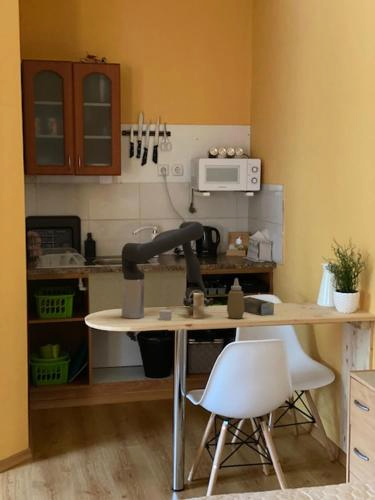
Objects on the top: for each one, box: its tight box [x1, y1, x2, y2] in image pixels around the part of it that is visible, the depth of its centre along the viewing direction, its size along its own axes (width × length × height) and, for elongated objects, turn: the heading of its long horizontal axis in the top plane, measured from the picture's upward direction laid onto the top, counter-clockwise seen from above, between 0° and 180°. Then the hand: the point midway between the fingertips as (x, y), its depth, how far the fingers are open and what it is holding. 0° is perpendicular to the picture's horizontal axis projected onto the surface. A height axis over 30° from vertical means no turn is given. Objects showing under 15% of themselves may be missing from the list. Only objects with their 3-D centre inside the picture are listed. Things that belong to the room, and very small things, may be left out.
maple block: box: [192, 293, 205, 320], centre depth 290 cm, size 4×4×11 cm
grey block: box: [159, 309, 173, 321], centre depth 285 cm, size 5×5×4 cm
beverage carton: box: [244, 296, 275, 317], centre depth 308 cm, size 8×19×7 cm, turn 32°
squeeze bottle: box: [226, 277, 245, 320], centre depth 291 cm, size 8×8×18 cm
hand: (198, 304), depth 287 cm, fingers open, 7 cm apart
